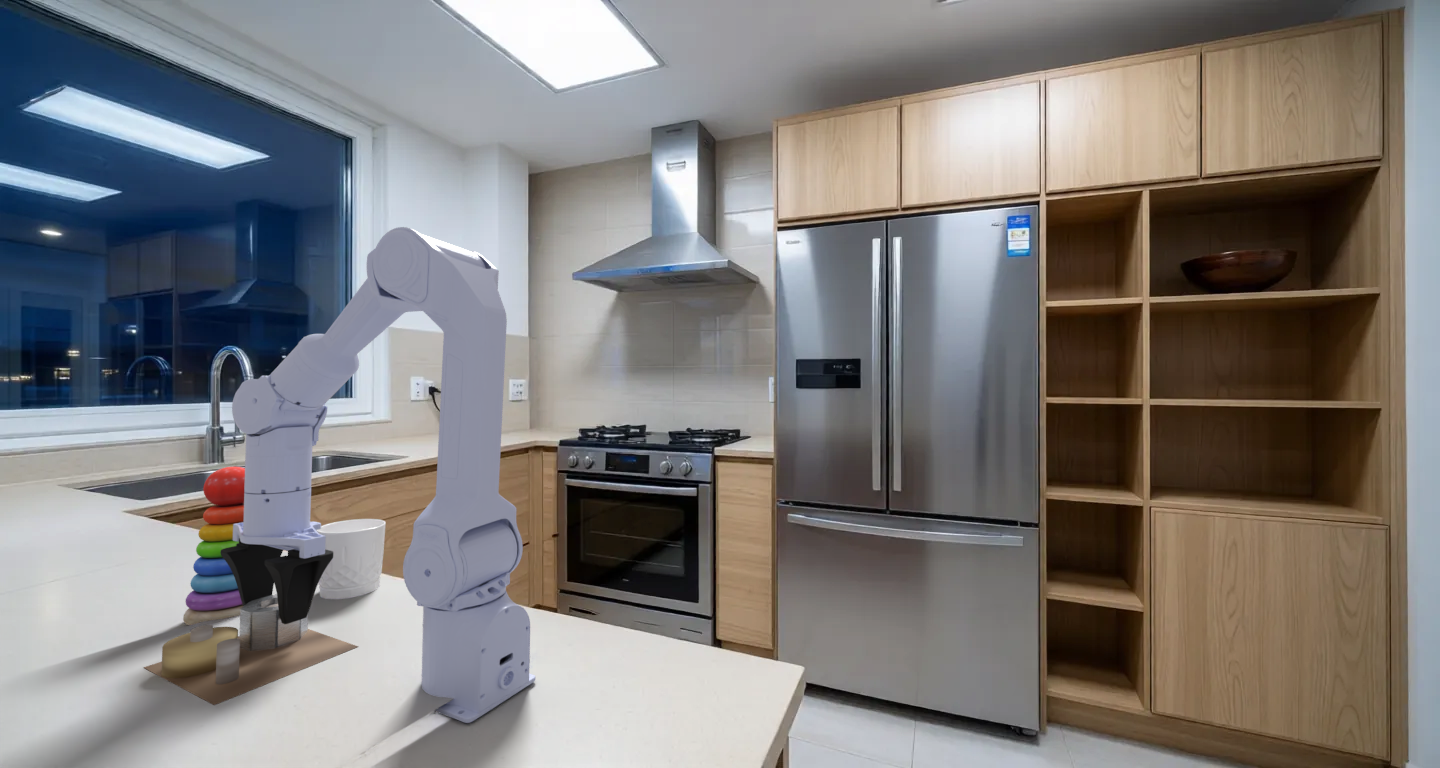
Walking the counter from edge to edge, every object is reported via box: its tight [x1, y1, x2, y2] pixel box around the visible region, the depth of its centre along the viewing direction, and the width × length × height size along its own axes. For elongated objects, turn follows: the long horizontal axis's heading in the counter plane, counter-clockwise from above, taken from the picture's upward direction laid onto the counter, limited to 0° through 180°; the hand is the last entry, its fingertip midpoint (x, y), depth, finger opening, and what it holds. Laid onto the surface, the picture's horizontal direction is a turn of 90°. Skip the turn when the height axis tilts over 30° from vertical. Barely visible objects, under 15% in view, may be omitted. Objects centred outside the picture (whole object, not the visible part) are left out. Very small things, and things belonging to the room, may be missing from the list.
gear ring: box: [238, 593, 309, 651], centre depth 59 cm, size 5×5×4 cm
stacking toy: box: [182, 466, 245, 626], centre depth 67 cm, size 8×8×19 cm
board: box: [143, 604, 359, 706], centre depth 55 cm, size 14×12×5 cm
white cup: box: [316, 518, 387, 600], centre depth 73 cm, size 8×8×10 cm
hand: (275, 613), depth 59 cm, fingers open, 7 cm apart
